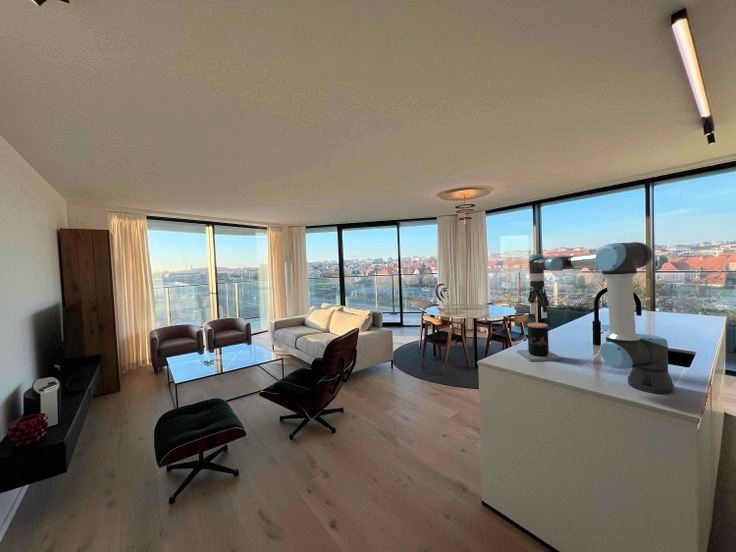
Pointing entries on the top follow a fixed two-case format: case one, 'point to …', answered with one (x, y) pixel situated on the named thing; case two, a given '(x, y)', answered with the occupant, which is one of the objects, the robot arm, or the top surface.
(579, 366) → the top surface
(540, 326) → the coffee jar
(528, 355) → the plate
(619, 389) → the top surface
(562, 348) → the top surface
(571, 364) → the top surface
